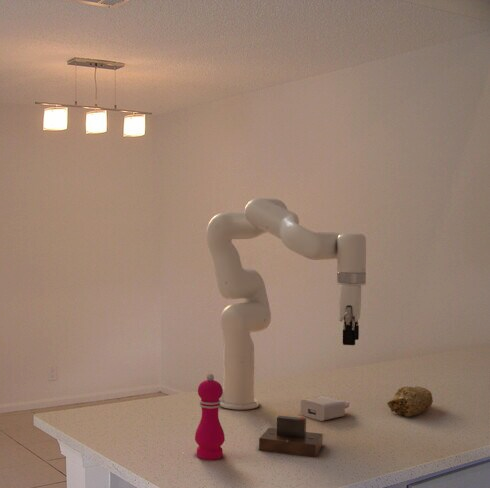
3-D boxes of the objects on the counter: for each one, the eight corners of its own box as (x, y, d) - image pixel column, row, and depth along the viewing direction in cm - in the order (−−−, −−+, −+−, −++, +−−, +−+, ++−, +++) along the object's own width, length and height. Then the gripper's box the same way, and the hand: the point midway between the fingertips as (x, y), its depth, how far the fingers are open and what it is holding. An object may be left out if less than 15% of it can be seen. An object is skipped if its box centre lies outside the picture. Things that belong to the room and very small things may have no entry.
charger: (358, 414, 215) (323, 421, 206) (334, 407, 223) (300, 414, 214) (359, 398, 215) (324, 405, 206) (335, 392, 222) (300, 398, 214)
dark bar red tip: (276, 435, 183) (276, 416, 183) (278, 432, 185) (278, 414, 185) (304, 438, 180) (304, 419, 180) (306, 436, 182) (306, 417, 182)
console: (258, 450, 180) (258, 438, 180) (269, 438, 190) (269, 426, 190) (315, 457, 175) (315, 444, 175) (322, 444, 185) (323, 432, 185)
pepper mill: (193, 451, 179) (193, 370, 179) (221, 450, 180) (222, 370, 179) (196, 460, 172) (197, 377, 171) (226, 460, 173) (227, 376, 172)
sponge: (419, 424, 209) (448, 398, 223) (413, 398, 208) (441, 374, 222) (379, 423, 218) (409, 398, 232) (372, 398, 218) (402, 375, 232)
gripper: (340, 276, 205) (340, 336, 205) (333, 281, 189) (332, 346, 189) (368, 277, 202) (367, 338, 203) (362, 281, 186) (362, 348, 187)
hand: (350, 342), depth 196 cm, fingers open, 9 cm apart
